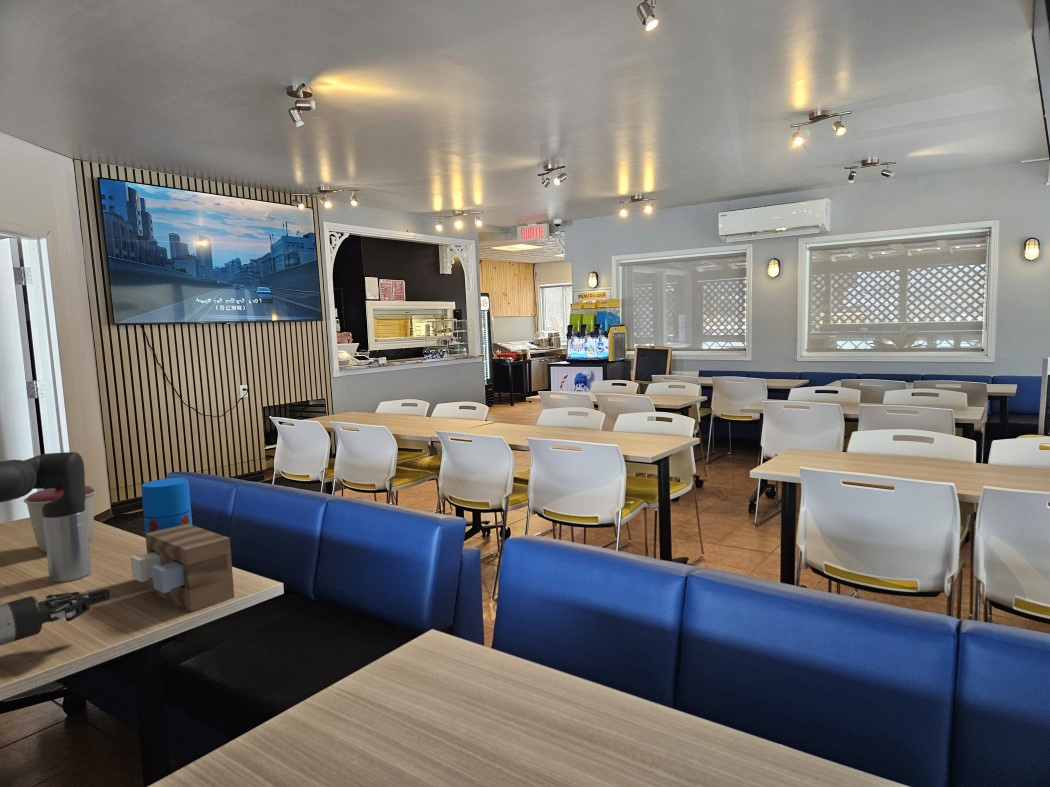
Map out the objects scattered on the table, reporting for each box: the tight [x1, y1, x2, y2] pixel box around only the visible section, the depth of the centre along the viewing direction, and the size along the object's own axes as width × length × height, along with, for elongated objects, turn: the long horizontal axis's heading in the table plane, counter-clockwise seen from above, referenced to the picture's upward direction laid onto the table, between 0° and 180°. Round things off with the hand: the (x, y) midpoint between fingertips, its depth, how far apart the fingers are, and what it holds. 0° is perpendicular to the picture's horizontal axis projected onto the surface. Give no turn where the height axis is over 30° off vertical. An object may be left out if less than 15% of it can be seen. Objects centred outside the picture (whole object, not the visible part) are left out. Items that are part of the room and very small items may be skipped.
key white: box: [130, 552, 161, 583], centre depth 158 cm, size 5×12×5 cm, turn 141°
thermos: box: [141, 477, 193, 534], centre depth 169 cm, size 11×11×25 cm
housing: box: [144, 524, 235, 613], centre depth 157 cm, size 22×10×14 cm, turn 51°
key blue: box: [152, 561, 185, 593], centre depth 150 cm, size 5×12×5 cm, turn 141°
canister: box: [23, 485, 97, 553], centre depth 198 cm, size 18×18×21 cm
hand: (108, 593), depth 138 cm, fingers closed
